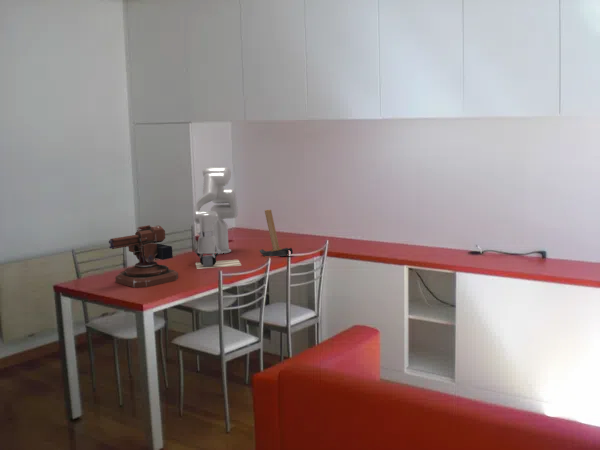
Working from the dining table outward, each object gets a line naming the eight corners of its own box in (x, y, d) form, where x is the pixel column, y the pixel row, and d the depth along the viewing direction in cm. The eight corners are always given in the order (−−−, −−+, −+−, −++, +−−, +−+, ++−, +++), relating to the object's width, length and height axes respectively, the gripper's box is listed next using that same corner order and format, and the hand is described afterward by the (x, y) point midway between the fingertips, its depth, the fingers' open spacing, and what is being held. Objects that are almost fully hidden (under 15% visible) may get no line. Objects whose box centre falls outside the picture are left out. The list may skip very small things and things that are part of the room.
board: (195, 264, 422) (194, 254, 421) (238, 261, 427) (237, 251, 427) (197, 270, 405) (196, 260, 404) (241, 267, 410) (241, 257, 409)
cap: (201, 265, 409) (200, 257, 409) (204, 263, 416) (204, 255, 415) (212, 265, 408) (211, 257, 407) (215, 263, 415) (215, 255, 414)
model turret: (100, 283, 381) (95, 229, 377) (154, 272, 405) (151, 221, 401) (126, 291, 362) (122, 234, 357) (183, 279, 385) (179, 225, 381)
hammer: (261, 259, 441) (251, 213, 438) (264, 258, 446) (254, 212, 443) (290, 255, 434) (280, 207, 431) (293, 253, 439) (283, 206, 436)
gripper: (190, 235, 407) (192, 265, 410) (219, 235, 404) (220, 265, 407) (194, 233, 414) (196, 262, 417) (222, 232, 411) (224, 262, 414)
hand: (208, 263), depth 412 cm, fingers closed on cap, 6 cm apart
